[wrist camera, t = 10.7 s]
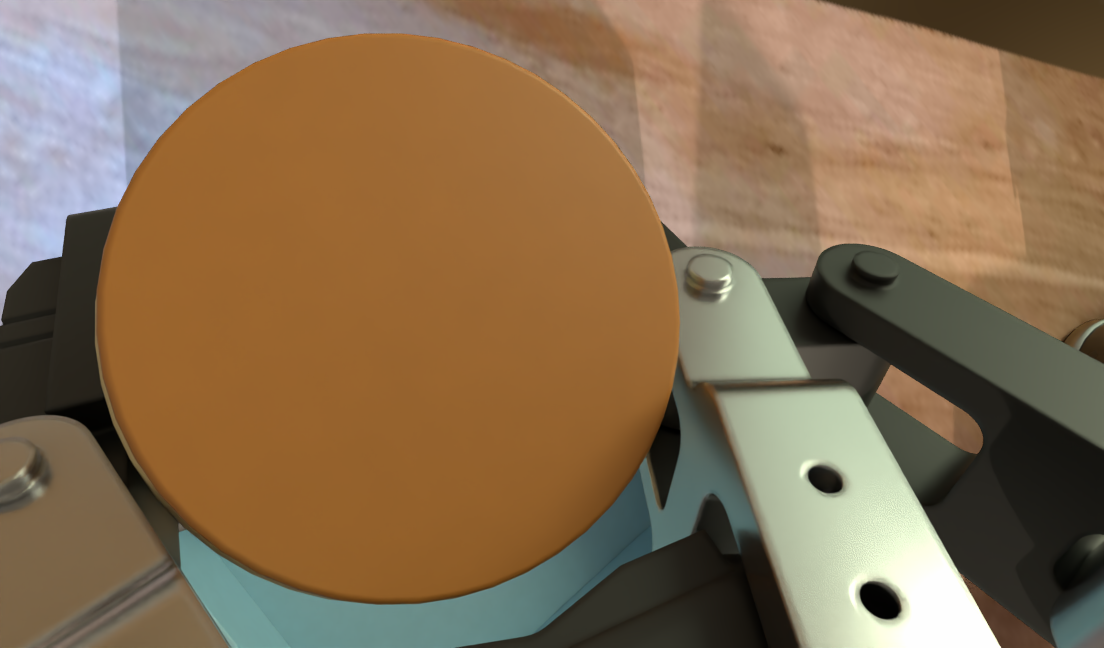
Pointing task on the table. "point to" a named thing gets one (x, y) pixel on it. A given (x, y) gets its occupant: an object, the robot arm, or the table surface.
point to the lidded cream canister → (386, 320)
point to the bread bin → (418, 629)
